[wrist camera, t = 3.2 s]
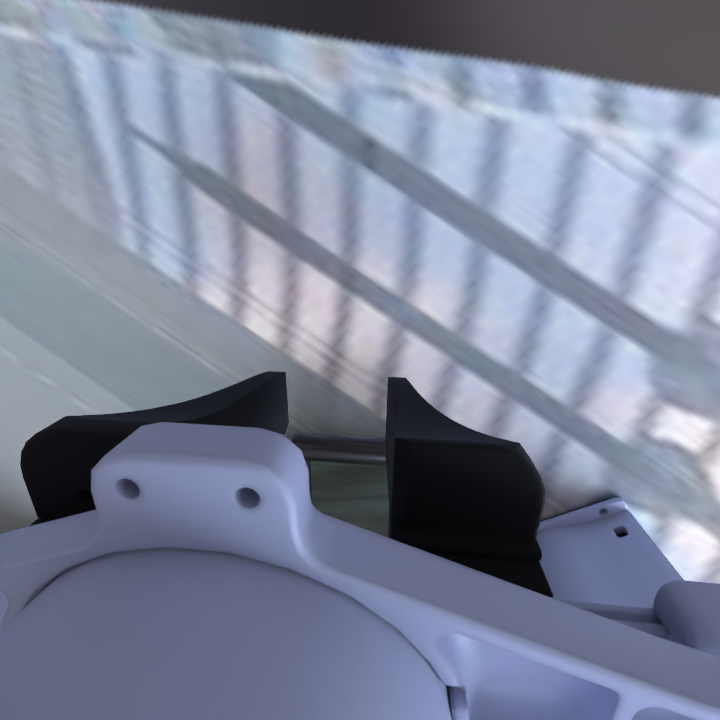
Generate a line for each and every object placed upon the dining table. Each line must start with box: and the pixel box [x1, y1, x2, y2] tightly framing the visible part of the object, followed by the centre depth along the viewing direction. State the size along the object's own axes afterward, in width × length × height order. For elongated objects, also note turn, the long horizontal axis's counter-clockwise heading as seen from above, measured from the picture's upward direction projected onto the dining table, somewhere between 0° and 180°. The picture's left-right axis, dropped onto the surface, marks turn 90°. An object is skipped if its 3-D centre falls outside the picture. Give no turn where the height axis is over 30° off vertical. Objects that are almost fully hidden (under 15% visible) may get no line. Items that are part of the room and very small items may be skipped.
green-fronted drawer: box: [292, 432, 389, 537], centre depth 24 cm, size 17×11×7 cm
